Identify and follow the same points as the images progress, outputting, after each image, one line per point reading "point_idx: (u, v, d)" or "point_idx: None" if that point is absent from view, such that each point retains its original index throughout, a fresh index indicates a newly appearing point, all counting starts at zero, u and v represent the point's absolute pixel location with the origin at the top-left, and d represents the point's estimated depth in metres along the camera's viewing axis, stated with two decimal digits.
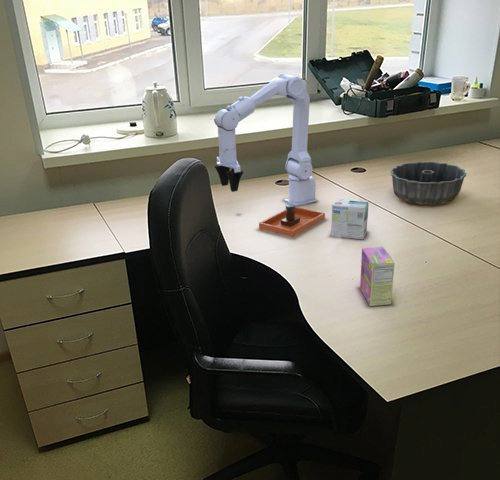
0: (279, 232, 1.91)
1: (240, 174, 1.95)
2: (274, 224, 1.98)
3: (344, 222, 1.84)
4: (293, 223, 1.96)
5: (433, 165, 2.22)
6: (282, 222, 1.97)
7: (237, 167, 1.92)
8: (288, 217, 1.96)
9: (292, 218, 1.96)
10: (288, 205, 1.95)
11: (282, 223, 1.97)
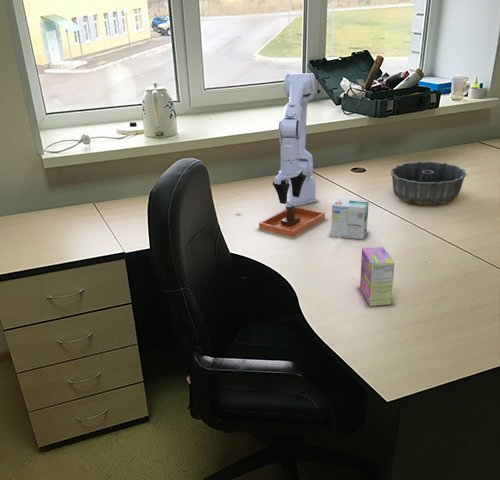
0: (279, 232, 1.91)
1: (283, 187, 1.86)
2: (274, 224, 1.98)
3: (344, 222, 1.84)
4: (293, 223, 1.96)
5: (433, 165, 2.22)
6: (282, 222, 1.97)
7: (276, 179, 1.85)
8: (288, 217, 1.96)
9: (292, 218, 1.96)
10: (288, 205, 1.95)
11: (282, 223, 1.97)
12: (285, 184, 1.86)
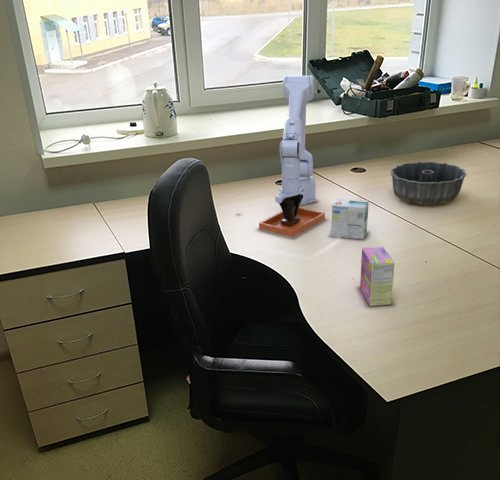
0: (279, 232, 1.91)
1: (287, 204, 1.91)
2: (274, 224, 1.98)
3: (344, 222, 1.84)
4: (293, 223, 1.96)
5: (433, 165, 2.22)
6: (282, 222, 1.97)
7: (277, 197, 1.88)
8: None
9: (292, 218, 1.96)
10: None
11: (282, 223, 1.97)
12: (290, 201, 1.91)
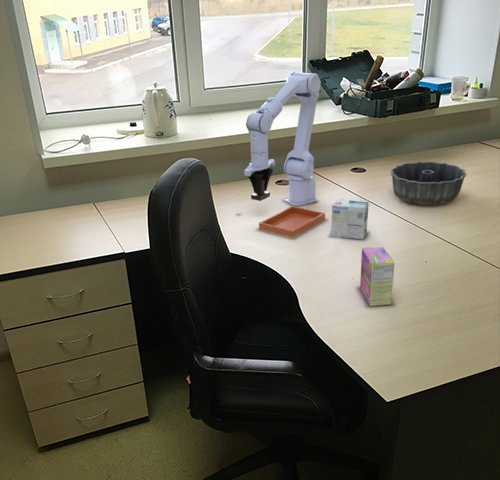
0: (279, 232, 1.91)
1: (257, 178, 1.93)
2: (274, 224, 1.98)
3: (344, 222, 1.84)
4: (263, 197, 1.99)
5: (433, 165, 2.22)
6: (252, 196, 1.99)
7: (246, 171, 1.90)
8: None
9: (262, 192, 1.99)
10: None
11: (252, 197, 1.99)
12: (259, 174, 1.93)
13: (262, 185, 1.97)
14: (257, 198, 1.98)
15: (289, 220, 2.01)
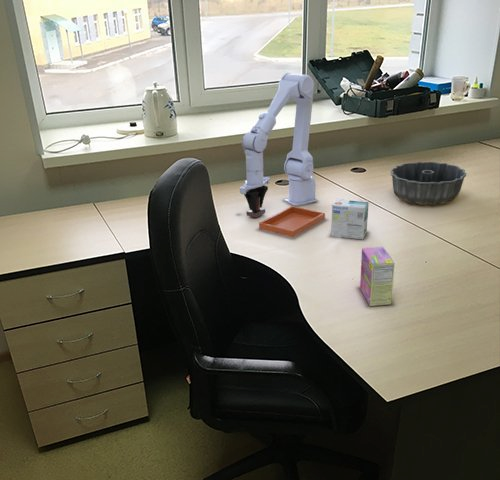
0: (279, 232, 1.91)
1: (252, 195, 1.98)
2: (274, 224, 1.98)
3: (344, 222, 1.84)
4: (258, 214, 2.03)
5: (433, 165, 2.22)
6: (248, 213, 2.03)
7: (241, 189, 1.95)
8: None
9: (257, 209, 2.03)
10: None
11: (248, 214, 2.04)
12: (254, 192, 1.97)
13: (257, 202, 2.02)
14: (252, 215, 2.02)
15: (289, 220, 2.01)
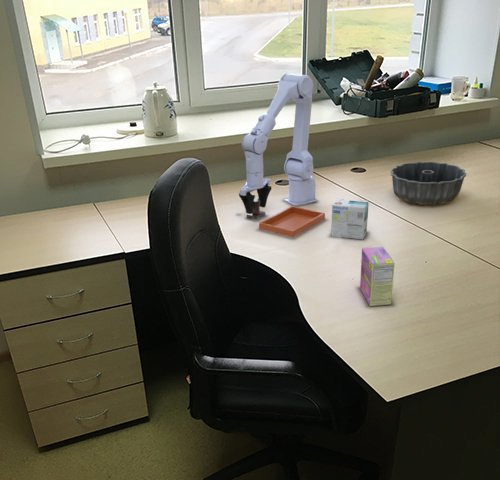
0: (279, 232, 1.91)
1: (248, 199, 1.96)
2: (274, 224, 1.98)
3: (344, 222, 1.84)
4: (258, 217, 2.03)
5: (433, 165, 2.22)
6: (248, 216, 2.04)
7: (241, 190, 1.95)
8: (253, 211, 2.03)
9: (257, 212, 2.03)
10: None
11: (248, 217, 2.04)
12: (250, 195, 1.96)
13: (257, 205, 2.02)
14: (252, 218, 2.03)
15: (289, 220, 2.01)
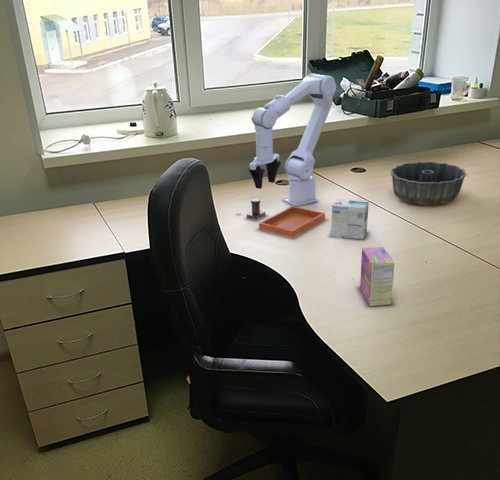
0: (279, 232, 1.91)
1: (258, 173, 1.98)
2: (274, 224, 1.98)
3: (344, 222, 1.84)
4: (258, 217, 2.03)
5: (433, 165, 2.22)
6: (248, 216, 2.04)
7: (251, 164, 1.97)
8: (253, 211, 2.03)
9: (257, 212, 2.03)
10: (253, 200, 2.02)
11: (248, 217, 2.04)
12: (260, 170, 1.98)
13: (257, 205, 2.02)
14: (252, 218, 2.03)
15: (289, 220, 2.01)
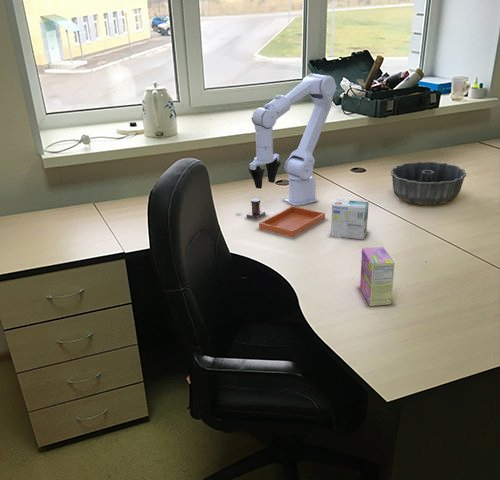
0: (279, 232, 1.91)
1: (258, 173, 1.98)
2: (274, 224, 1.98)
3: (344, 222, 1.84)
4: (258, 217, 2.03)
5: (433, 165, 2.22)
6: (248, 216, 2.04)
7: (251, 164, 1.97)
8: (253, 211, 2.03)
9: (257, 212, 2.03)
10: (253, 200, 2.02)
11: (248, 217, 2.04)
12: (260, 170, 1.98)
13: (257, 205, 2.02)
14: (252, 218, 2.03)
15: (289, 220, 2.01)
